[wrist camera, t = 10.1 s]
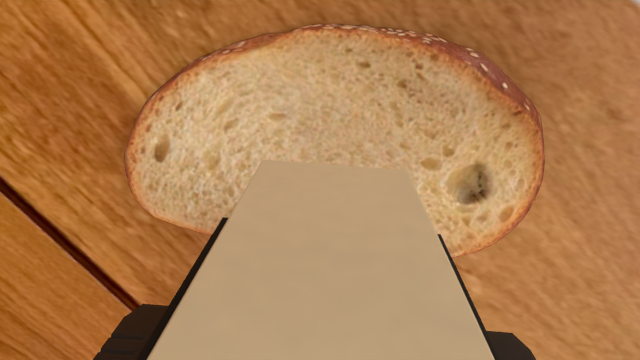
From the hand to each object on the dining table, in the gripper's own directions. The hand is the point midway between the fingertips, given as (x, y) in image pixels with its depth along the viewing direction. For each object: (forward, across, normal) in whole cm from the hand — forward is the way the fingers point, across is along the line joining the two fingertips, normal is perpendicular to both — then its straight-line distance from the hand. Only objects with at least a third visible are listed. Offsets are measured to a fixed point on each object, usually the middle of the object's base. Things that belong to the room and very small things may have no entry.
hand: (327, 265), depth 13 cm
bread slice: (+11, 0, 0) cm, 11 cm away
